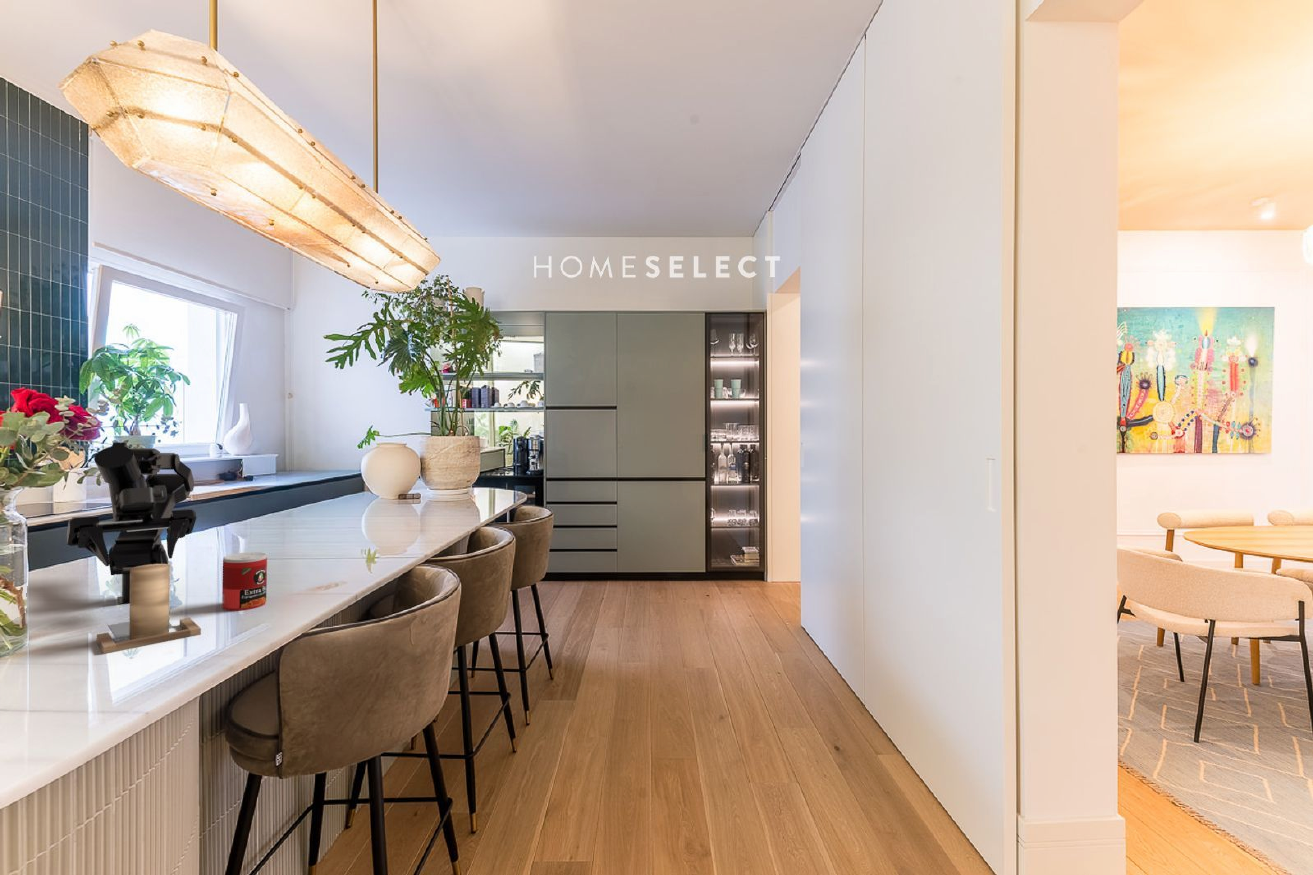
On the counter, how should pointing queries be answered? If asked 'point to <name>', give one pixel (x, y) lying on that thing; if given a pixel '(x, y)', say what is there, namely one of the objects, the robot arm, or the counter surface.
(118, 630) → the slate mat
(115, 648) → the walnut frame
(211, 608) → the counter surface
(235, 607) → the canned food
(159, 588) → the pepper mill
